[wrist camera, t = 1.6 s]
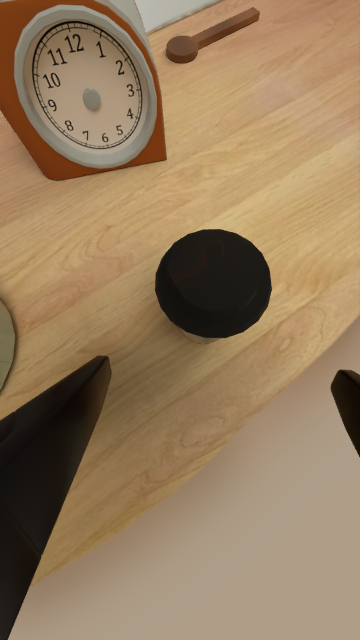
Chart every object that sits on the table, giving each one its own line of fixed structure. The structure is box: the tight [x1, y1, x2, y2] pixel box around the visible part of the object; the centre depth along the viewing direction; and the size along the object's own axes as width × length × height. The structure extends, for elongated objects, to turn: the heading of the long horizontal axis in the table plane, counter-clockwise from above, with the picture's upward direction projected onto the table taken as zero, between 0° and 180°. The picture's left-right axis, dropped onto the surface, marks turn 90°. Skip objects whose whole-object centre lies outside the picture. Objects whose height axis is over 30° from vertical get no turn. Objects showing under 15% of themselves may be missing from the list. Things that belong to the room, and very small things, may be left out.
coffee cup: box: [155, 229, 272, 344], centre depth 17 cm, size 7×7×10 cm
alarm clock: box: [0, 0, 167, 180], centre depth 22 cm, size 15×8×14 cm, turn 102°
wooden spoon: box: [167, 7, 260, 63], centre depth 33 cm, size 16×4×1 cm, turn 125°
